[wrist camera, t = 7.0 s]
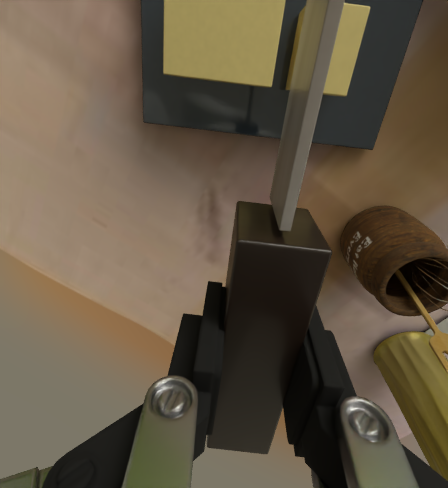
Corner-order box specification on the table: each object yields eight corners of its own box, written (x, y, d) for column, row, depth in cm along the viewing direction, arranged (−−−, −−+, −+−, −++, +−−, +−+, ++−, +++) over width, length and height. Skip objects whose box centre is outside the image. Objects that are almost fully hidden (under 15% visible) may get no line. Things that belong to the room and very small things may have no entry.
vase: (396, 376, 32) (496, 565, 20) (359, 354, 30) (444, 547, 18) (448, 347, 30) (598, 544, 18) (410, 321, 28) (549, 521, 16)
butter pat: (285, 89, 19) (293, 90, 16) (299, 12, 17) (310, -2, 14) (331, 95, 19) (346, 96, 16) (350, 18, 17) (371, 6, 14)
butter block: (173, 76, 19) (162, 74, 16) (175, -5, 17) (163, -21, 14) (266, 87, 19) (271, 87, 16) (278, 9, 17) (286, -5, 14)
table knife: (449, -342, 5) (679, -813, 2) (262, 386, 14) (268, 455, 11) (313, -361, 5) (392, -852, 2) (212, 380, 14) (206, 448, 11)
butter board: (146, 121, 21) (143, 122, 20) (144, -73, 16) (138, -82, 15) (367, 147, 21) (373, 150, 20) (427, -35, 17) (438, -42, 16)
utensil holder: (410, 192, 23) (562, 284, 12) (413, 259, 25) (540, 381, 15) (332, 214, 24) (410, 316, 13) (344, 276, 27) (415, 402, 16)
